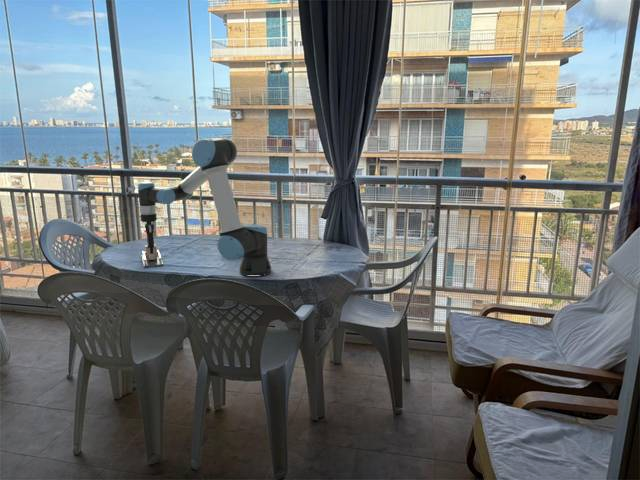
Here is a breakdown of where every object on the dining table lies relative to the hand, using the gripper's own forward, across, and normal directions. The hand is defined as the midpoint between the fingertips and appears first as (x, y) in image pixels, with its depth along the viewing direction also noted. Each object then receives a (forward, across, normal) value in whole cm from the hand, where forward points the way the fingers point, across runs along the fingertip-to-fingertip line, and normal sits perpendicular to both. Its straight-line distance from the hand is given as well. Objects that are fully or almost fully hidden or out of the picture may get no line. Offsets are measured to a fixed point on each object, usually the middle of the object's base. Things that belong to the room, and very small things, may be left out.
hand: (151, 257), depth 225 cm
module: (0, 0, 0) cm, 0 cm away
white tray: (+2, 0, 0) cm, 2 cm away
